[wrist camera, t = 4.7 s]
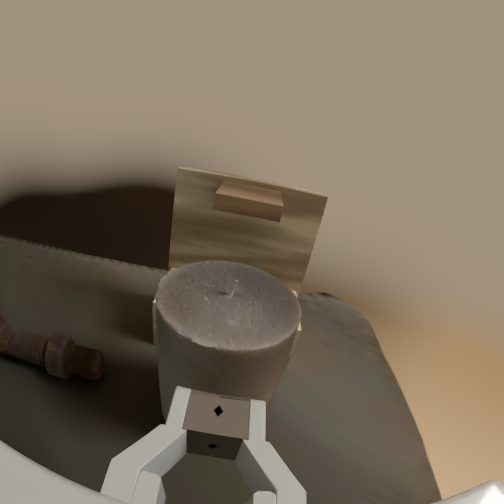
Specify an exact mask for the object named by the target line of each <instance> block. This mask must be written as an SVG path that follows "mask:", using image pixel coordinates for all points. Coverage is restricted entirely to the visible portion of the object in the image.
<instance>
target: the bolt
mask: <svg viewBox="0 0 504 504" xmlns="http://www.w3.org/2000/svg"><path fill="white" fill-rule="evenodd" d="M0 353H2V354H7V355H10V356H12V357H15V358H19V359H21V360H24V361H27V362H29V363H32V364H36V365H39V366H42V367H45V368H46V369H47V372H48V373H49V374H50V375H52V376H55V377H58V378H61V379H65V380H67V379H68V378H70V376H71V375H73V376H78V377H82V378H85V379H90V380H94V381H96V380H99V379H100V377H101V374H102V371H103V364H104V355H103V354H102V352H101V351H100V350H99V351H98V350H97V349H96V350H95V349H91V348H90V349H89V348H88V347H87V348H86V347H83V346H79V345H78V346H77V345H75V343H74V340H73V339H72V338H71V337H70V336H68V335H66V334H63V333H59V332H56V333H54V334H53V335H52V336H51V337H50V338H49V337H45V336H41V335H38V334H35V333H31V332H28V331H25V330H22V329H19V328H16V327H12V326H10V325H9V324H7V319H6V318H5V317H4V316H2V315H1V314H0Z"/></svg>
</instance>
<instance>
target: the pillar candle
mask: <svg viewBox="0 0 504 504" xmlns="http://www.w3.org/2000/svg"><path fill="white" fill-rule="evenodd" d="M154 298H155V299H156V329H157V354H158V372H159V386H160V396H161V408H162V414H163V417H164V419H165V421H166V420H167V416H168V412H169V409H170V406H171V402H172V399H173V395H174V392H175V389H176V387H177V386H180V387H185V388H189V389H193V390H198V391H203V392H208V393H213V394H218V395H226V396H233V397H241V398H249V399H253V400H262V401H265V403H266V412H267V409H268V407H269V405H270V402H271V400H272V397H273V394H274V392H275V389H276V387H277V384H278V382H279V379H280V377H281V375H282V371H283V368H284V366H285V363H286V361H287V358H288V356H289V353H290V351H291V348H292V344H293V342H294V339H295V335H296V332H297V329H298V326H299V323H300V319H301V307H300V304H299V302H298V300H297V297H296V295H295V294H294V293H293V292H292V291H291V289H290V288H289V287H288V286H286V285H285V284H284V283H283V282H282V281H280V280H279V279H278V278H276V277H275V276H273V275H271V274H269V273H267V272H265V271H263V270H261V269H259V268H256V267H253V266H250V265H246V264H242V263H236V262H229V261H215V260H213V261H202V262H196V263H191V264H187V265H184V266H182V267H179V268H177V269H175V270H171V271H169V272H168V273H167V275H165V276H163V277H162V278H161V279H160V283H159V284H158V288H157V292H156V294H155V296H154Z"/></svg>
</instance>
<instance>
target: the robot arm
mask: <svg viewBox="0 0 504 504" xmlns="http://www.w3.org/2000/svg"><path fill="white" fill-rule="evenodd" d="M265 419H266V403H265V401H262V400H253V399H249V398H241V397H233V396H226V395H218V394H213V393H208V392H203V391H198V390H193V389H189V388H185V387H180V386H177V387H176V389H175V392H174V395H173V399H172V402H171V406H170V409H169V412H168V416H167V420H166V423H165V425H164V424H160V425H159V426H157V427H156V428H155V429H153V430H152V431H151V432H149V433H148V434H147V435H145V436H144V437H142V438H141V439H140V440H138V441H137V442H136V443H134V444H133V445H131V446H130V447H129V448H127V449H126V450H124V451H123V452H122V453H120V454H119V455H117V456H116V457H114V458H113V459H112V460H111V463H110V466H109V468H108V471H107V474H106V477H105V480H104V483H103V486H102V489H101V492H100V493H99V492H96V491H94V490H91V489H89V488H87V487H84V486H82V485H80V484H77V483H75V482H73V481H71V480H69V479H67V478H64V477H62V476H60V475H58V474H56V473H54V472H52V471H51V470H49V469H47V468H45V467H43V466H41V465H39V464H38V463H36V462H34V461H32V460H31V459H29V458H27V457H26V456H24V455H22V454H21V453H19V452H18V451H16V450H14V449H13V448H11V447H10V446H8V445H7V444H5V443H4V442H2V441H1V440H0V504H165V499H166V495H165V492H164V488H163V484H162V480H161V477H162V476H163V475H164V474H165V473H166V472H167V471H168V470H169V469H171V468H172V467H173V466H174V465H175V464H176V463H177V462H178V461H179V460H180V459H181V458H182V457H183V456H184V455H185V454H186V452H188V453H194V454H199V455H206V456H212V457H218V458H223V459H229V460H235V463H236V465H237V467H238V468H239V470H240V472H241V474H242V476H243V478H244V479H245V481H246V483H247V485H248V486H249V488H250V490H251V492H252V493H253V496H252V497H251V498H250V499H249V501H248V502H247V503H246V504H306V491H305V490H304V488H303V487H302V486H301V485H300V483H299V482H298V481H297V479H296V478H295V477H294V475H293V474H292V473H291V471H290V470H289V469H288V467H287V466H286V465H285V463H284V462H283V461H282V459H281V458H280V456H279V455H278V454H277V452H276V451H275V449H274V448H273V447H272V445H271V444H270V442H265ZM431 504H504V485H503V484H502V483H501V482H499V481H498V480H489V481H487V482H485V483H482V484H480V485H478V486H476V487H474V488H471V489H469V490H467V491H464V492H462V493H459V494H457V495H454V496H451V497H449V498H446V499H443V500H440V501H437V502H434V503H431Z"/></svg>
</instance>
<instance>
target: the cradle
mask: <svg viewBox="0 0 504 504" xmlns="http://www.w3.org/2000/svg"><path fill="white" fill-rule="evenodd" d="M327 198H328V197H327V196H326V195H325V194H323V193H319V192H315V191H311V190H306V189H302V188H298V187H293V186H288V185H284V184H279V183H275V182H270V181H265V180H260V179H254V178H249V177H245V176H239V175H234V174H228V173H223V172H217V171H211V170H206V169H199V168H193V167H187V166H181V167H179V168H178V174H177V183H176V190H175V199H174V209H173V219H172V231H171V243H170V256H169V271H171V270H175V269H177V268H179V267H182V266H184V265H187V264H191V263H196V262H202V261H213V260H215V261H229V262H236V263H242V264H246V265H250V266H253V267H256V268H259V269H261V270H263V271H265V272H267V273H269V274H271V275H273V276H275V277H276V278H278V279H279V280H280V281H282V282H283V283H284V284H285V285H286V286H288V287H289V288H290V289H291V291H292V292H293V293H294V294H295V295H296V297H298V294H299V290H300V287H301V284H302V281H303V278H304V275H305V272H306V269H307V266H308V263H309V259H310V256H311V253H312V250H313V246H314V243H315V240H316V236H317V233H318V230H319V226H320V223H321V219H322V216H323V213H324V209H325V205H326V202H327ZM300 333H301V324H300V323H299V326H298V329H297V332H296V335H295V339H294V342H293V344H292V348H291V351H290V353H289V356H288V358H287V361H286V363H285V366H284V368H283V369H286V368H287V365H288V363H289V360H290V358H291V356H292V353H293V351H294V348H295V346H296V343H297V341H298V338H299V336H300ZM153 344H156V345H157V329H156V299H154V301H153Z"/></svg>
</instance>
